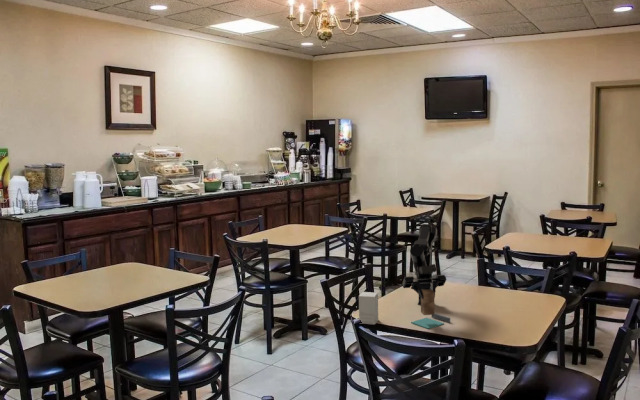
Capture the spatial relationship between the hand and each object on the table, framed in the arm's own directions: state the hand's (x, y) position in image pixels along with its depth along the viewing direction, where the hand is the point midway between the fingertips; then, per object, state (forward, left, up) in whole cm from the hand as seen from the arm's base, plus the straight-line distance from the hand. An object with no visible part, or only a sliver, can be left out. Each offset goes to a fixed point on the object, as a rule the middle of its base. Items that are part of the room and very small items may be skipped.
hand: (428, 298), depth 234 cm
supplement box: (-26, -5, -12) cm, 29 cm away
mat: (-1, +1, -12) cm, 12 cm away
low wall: (+4, +9, -12) cm, 15 cm away
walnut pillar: (-1, +1, -7) cm, 7 cm away
